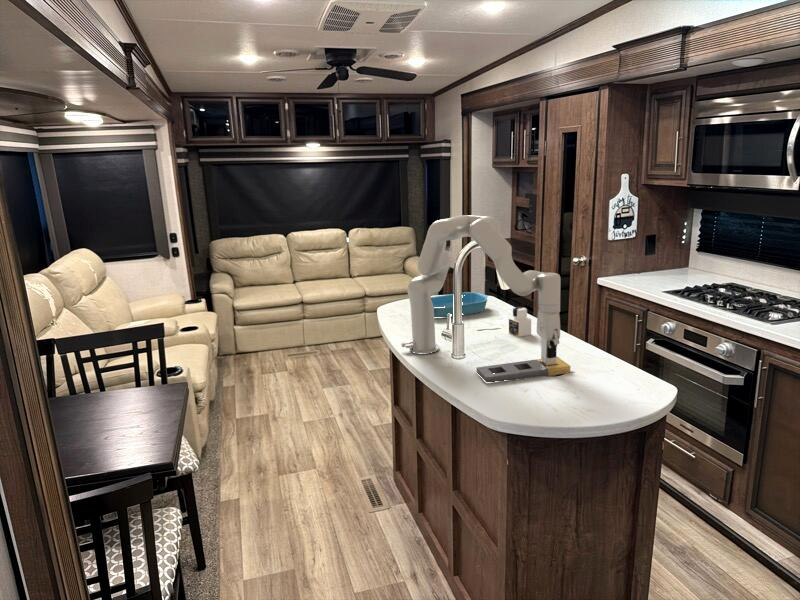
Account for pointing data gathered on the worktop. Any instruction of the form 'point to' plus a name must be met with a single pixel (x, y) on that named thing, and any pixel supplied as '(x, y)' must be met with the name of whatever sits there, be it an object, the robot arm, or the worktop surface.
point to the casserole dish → (470, 305)
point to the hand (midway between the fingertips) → (548, 355)
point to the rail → (522, 370)
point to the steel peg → (544, 358)
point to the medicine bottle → (520, 322)
